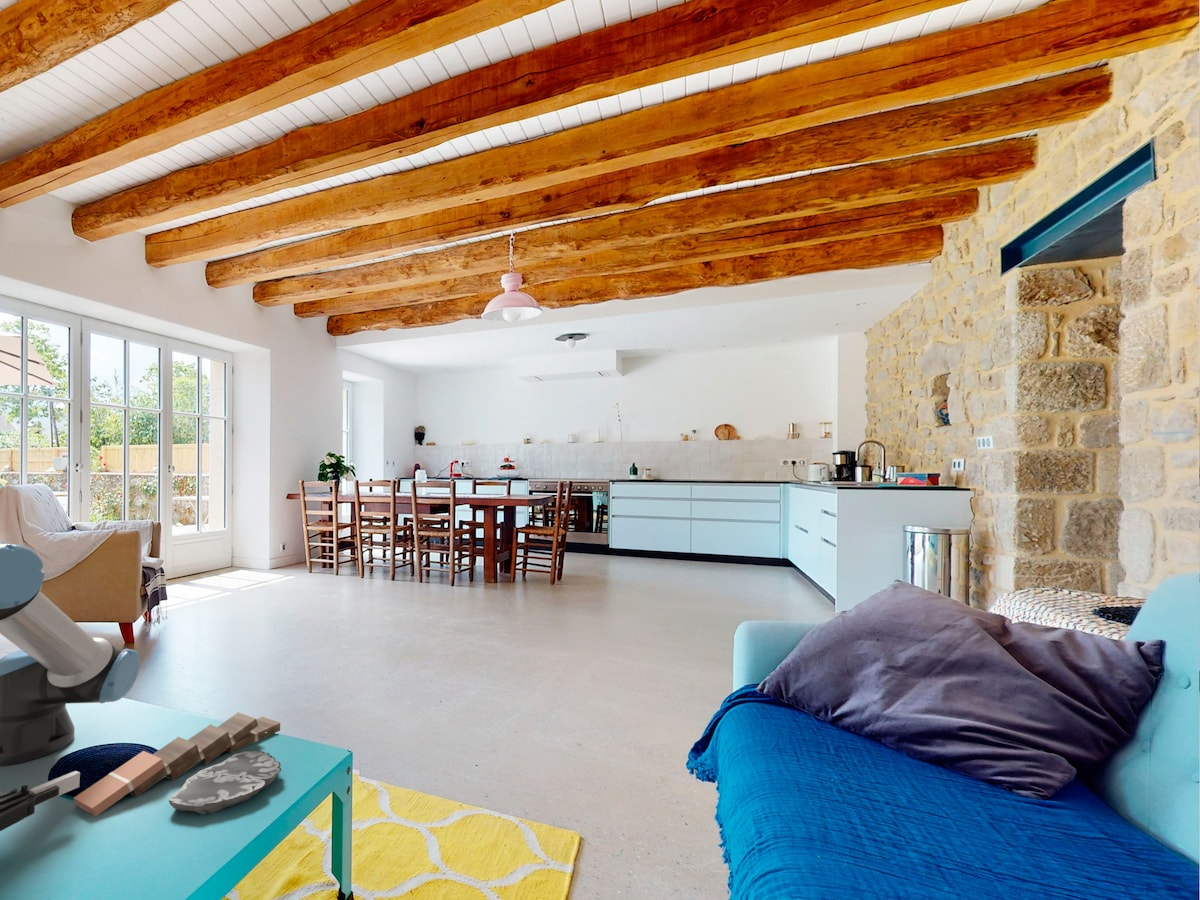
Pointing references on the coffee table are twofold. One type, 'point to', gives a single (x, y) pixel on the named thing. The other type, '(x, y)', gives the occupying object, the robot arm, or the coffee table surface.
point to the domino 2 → (169, 761)
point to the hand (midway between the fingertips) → (77, 778)
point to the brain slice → (226, 782)
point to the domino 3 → (202, 747)
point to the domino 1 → (119, 783)
